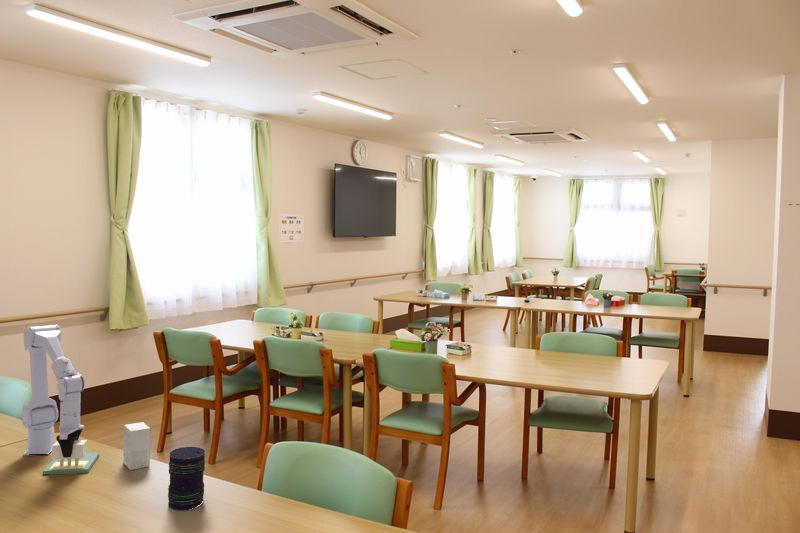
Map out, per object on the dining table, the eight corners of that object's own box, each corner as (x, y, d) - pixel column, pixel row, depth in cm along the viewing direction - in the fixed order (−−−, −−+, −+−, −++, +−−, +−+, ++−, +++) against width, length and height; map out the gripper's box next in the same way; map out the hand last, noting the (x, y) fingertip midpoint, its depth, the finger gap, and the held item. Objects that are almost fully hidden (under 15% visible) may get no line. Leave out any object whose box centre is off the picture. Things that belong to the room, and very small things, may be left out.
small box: (149, 466, 202) (150, 428, 201) (129, 470, 198) (130, 431, 197) (142, 459, 208) (143, 421, 208) (122, 462, 204) (123, 424, 204)
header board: (57, 457, 206) (57, 446, 206) (99, 455, 209) (99, 445, 209) (42, 474, 192) (42, 462, 191) (87, 472, 195) (88, 461, 194)
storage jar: (165, 512, 171) (167, 459, 170) (169, 497, 180) (170, 447, 179) (203, 509, 173) (204, 457, 172) (204, 494, 183) (206, 445, 182)
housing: (56, 454, 198) (56, 440, 198) (86, 453, 200) (87, 439, 200) (52, 459, 194) (52, 445, 193) (82, 458, 196) (83, 444, 195)
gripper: (77, 419, 190) (76, 461, 191) (89, 406, 204) (88, 445, 205) (52, 419, 188) (51, 462, 189) (66, 406, 202) (65, 446, 203)
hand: (69, 454), depth 197 cm, fingers closed on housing, 5 cm apart
